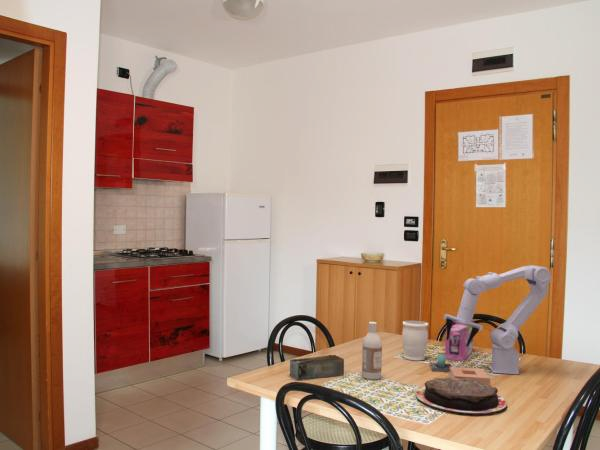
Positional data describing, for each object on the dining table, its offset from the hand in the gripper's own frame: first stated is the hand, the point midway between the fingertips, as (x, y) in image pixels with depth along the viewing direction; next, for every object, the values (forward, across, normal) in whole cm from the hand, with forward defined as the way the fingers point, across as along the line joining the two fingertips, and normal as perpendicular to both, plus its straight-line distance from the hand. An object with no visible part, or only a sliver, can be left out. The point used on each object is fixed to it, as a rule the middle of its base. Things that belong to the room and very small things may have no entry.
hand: (457, 342), depth 201 cm
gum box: (+8, +1, +27) cm, 29 cm away
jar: (+14, -15, +12) cm, 23 cm away
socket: (+10, +8, -10) cm, 16 cm away
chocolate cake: (+14, +7, -34) cm, 37 cm away
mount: (+12, -3, 0) cm, 12 cm away
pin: (+12, -3, 0) cm, 12 cm away
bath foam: (+20, -24, -22) cm, 38 cm away
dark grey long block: (+25, -42, -28) cm, 56 cm away
